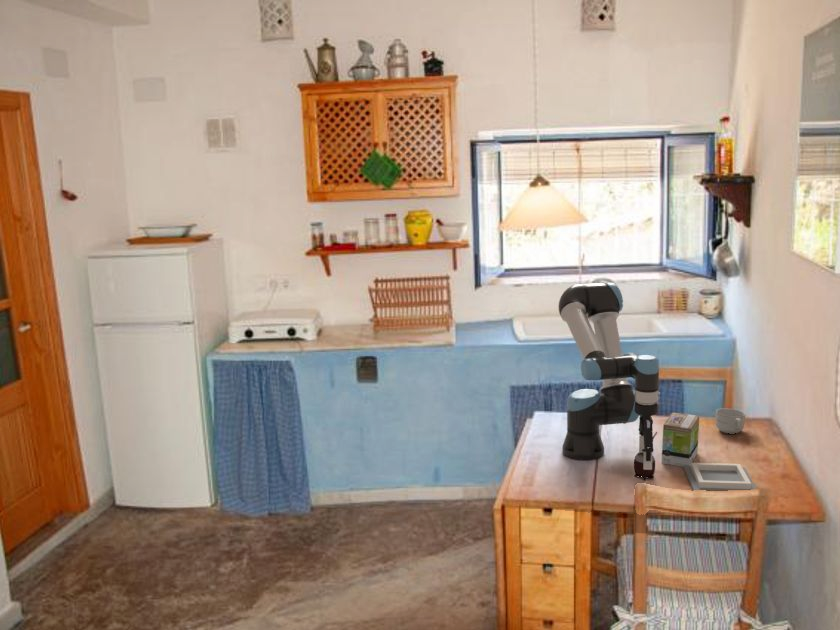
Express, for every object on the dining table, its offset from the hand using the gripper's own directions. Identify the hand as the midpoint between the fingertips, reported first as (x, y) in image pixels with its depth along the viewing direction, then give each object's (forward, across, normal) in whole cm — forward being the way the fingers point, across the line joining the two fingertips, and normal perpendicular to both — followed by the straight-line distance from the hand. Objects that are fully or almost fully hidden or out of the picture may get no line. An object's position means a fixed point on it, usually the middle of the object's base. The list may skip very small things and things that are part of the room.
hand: (645, 461), depth 267 cm
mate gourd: (+6, 0, 0) cm, 6 cm away
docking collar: (+6, -2, -24) cm, 25 cm away
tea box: (+6, +17, -14) cm, 23 cm away
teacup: (+6, +44, -37) cm, 58 cm away
